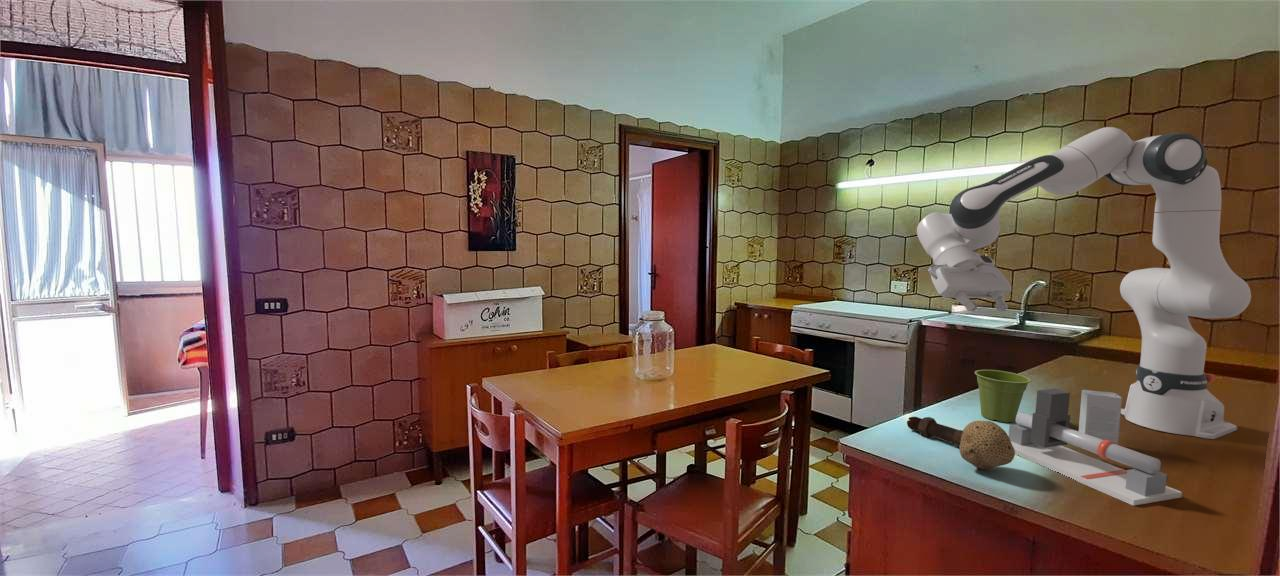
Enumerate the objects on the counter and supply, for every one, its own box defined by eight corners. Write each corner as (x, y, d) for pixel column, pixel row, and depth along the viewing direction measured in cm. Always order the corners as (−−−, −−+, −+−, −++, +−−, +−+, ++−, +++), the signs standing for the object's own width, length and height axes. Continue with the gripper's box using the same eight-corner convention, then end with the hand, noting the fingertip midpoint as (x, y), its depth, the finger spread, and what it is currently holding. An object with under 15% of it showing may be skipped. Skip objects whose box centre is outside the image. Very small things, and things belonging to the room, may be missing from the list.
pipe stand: (993, 444, 117) (996, 411, 116) (1034, 439, 120) (1037, 407, 119) (1133, 505, 91) (1137, 463, 90) (1181, 497, 94) (1186, 455, 94)
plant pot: (1011, 429, 127) (1015, 384, 125) (961, 414, 137) (965, 372, 136) (1036, 421, 132) (1040, 378, 131) (986, 407, 143) (989, 367, 141)
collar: (1030, 442, 112) (1034, 390, 111) (1053, 439, 114) (1057, 388, 112) (1044, 447, 109) (1049, 394, 108) (1067, 444, 111) (1072, 392, 109)
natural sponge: (1021, 473, 103) (1025, 424, 102) (999, 484, 99) (1003, 433, 98) (972, 456, 111) (975, 411, 110) (949, 466, 106) (953, 419, 105)
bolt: (911, 436, 127) (975, 458, 114) (900, 429, 125) (963, 450, 111) (920, 414, 128) (983, 433, 114) (908, 407, 126) (972, 425, 112)
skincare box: (1110, 443, 118) (1115, 392, 117) (1117, 450, 115) (1123, 397, 113) (1076, 439, 121) (1081, 388, 120) (1082, 445, 117) (1087, 394, 116)
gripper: (933, 256, 127) (963, 301, 119) (997, 258, 133) (1030, 302, 125) (917, 272, 132) (945, 317, 124) (979, 274, 138) (1010, 317, 130)
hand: (988, 309), depth 125 cm, fingers open, 8 cm apart
